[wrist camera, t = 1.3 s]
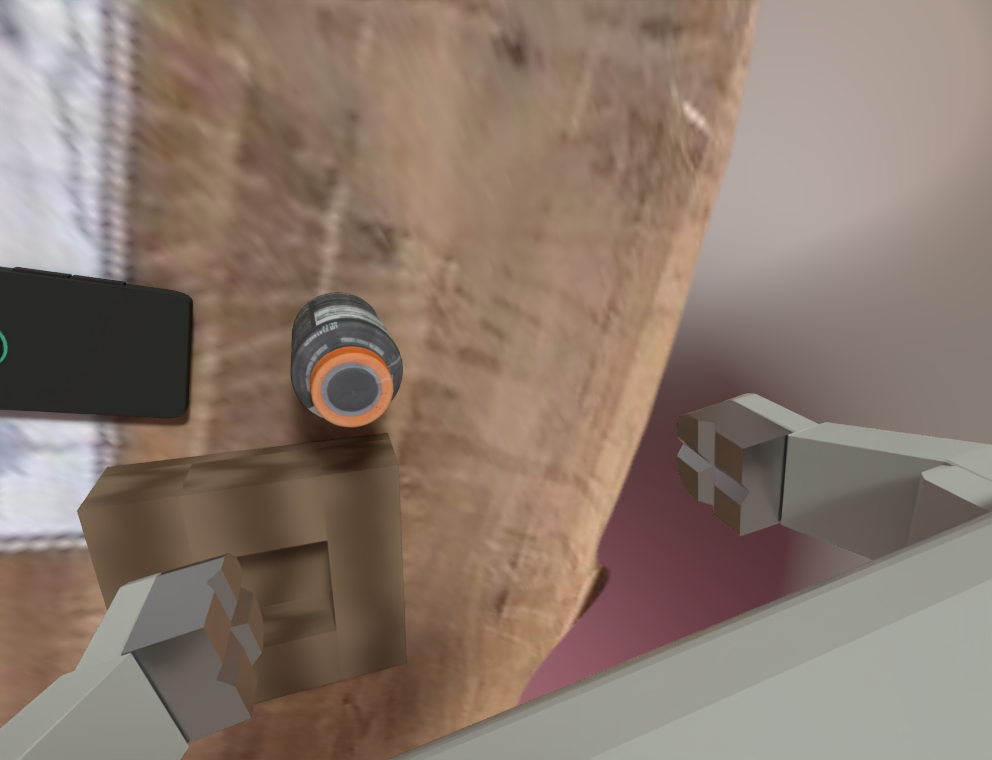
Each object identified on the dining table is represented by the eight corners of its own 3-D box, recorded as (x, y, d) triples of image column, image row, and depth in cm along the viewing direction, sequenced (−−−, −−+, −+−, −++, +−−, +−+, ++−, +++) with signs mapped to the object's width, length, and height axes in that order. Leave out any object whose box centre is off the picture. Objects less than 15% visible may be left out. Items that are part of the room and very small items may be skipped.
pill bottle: (339, 390, 36) (352, 468, 26) (272, 333, 34) (259, 396, 24) (400, 333, 36) (436, 389, 27) (338, 272, 34) (352, 308, 24)
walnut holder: (162, 671, 39) (144, 733, 35) (107, 467, 33) (77, 510, 29) (396, 616, 45) (406, 663, 41) (388, 433, 39) (398, 465, 34)
